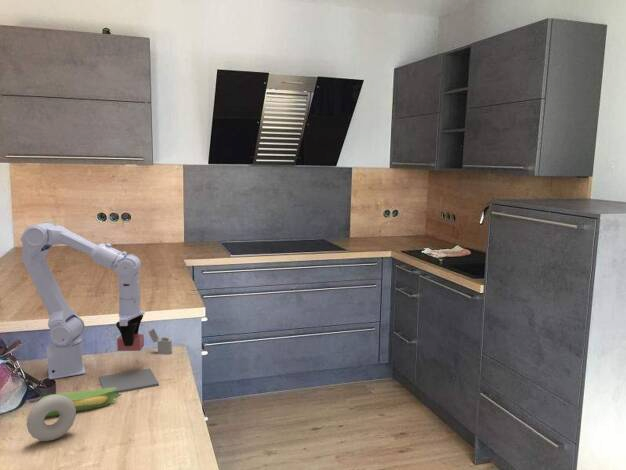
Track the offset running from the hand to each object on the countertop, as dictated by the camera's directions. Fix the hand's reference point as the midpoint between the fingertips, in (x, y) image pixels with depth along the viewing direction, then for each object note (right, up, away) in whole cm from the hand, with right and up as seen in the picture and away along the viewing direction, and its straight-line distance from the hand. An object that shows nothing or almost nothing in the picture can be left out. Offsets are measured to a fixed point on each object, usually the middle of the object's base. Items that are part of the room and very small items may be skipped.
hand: (130, 342), depth 150 cm
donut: (-4, -14, -37) cm, 39 cm away
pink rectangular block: (0, -2, 0) cm, 2 cm away
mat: (+2, -10, -6) cm, 12 cm away
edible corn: (-5, -12, -23) cm, 26 cm away
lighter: (+4, -7, +17) cm, 18 cm away
